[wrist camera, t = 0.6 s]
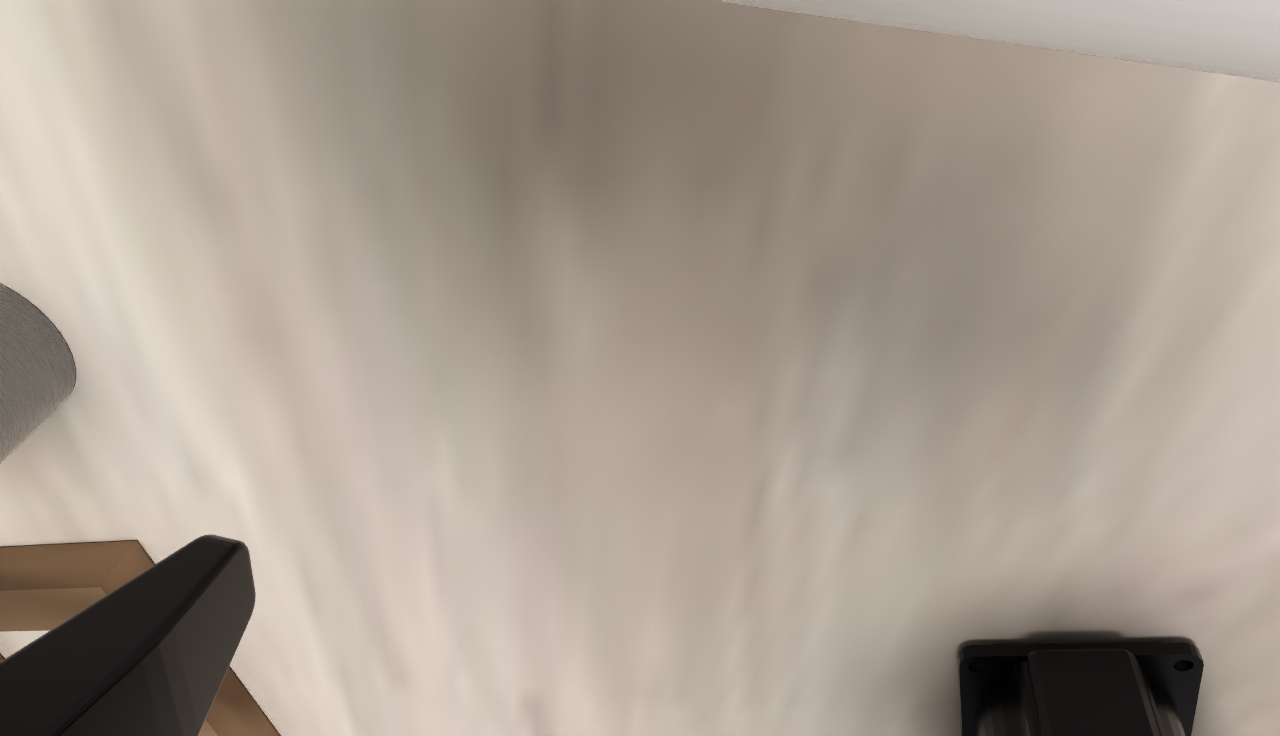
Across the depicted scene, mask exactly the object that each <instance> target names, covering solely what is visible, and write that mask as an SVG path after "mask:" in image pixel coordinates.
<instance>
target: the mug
mask: <svg viewBox="0 0 1280 736" xmlns="http://www.w3.org/2000/svg"><path fill="white" fill-rule="evenodd" d="M721 1H723V2H726V3H731V4H738V5H745V6H752V7H759V8H766V9H773V10H780V11H787V12H794V13H801V14H808V15H815V16H822V17H829V18H836V19H843V20H850V21H857V22H864V23H871V24H878V25H885V26H892V27H899V28H906V29H913V30H920V31H927V32H934V33H941V34H948V35H955V36H962V37H969V38H976V39H983V40H990V41H997V42H1004V43H1011V44H1018V45H1025V46H1032V47H1039V48H1045V49H1052V50H1059V51H1066V52H1073V53H1080V54H1087V55H1094V56H1101V57H1108V58H1115V59H1122V60H1129V61H1136V62H1143V63H1150V64H1157V65H1164V66H1171V67H1178V68H1185V69H1192V70H1199V71H1206V72H1213V73H1220V74H1227V75H1234V76H1241V77H1248V78H1255V79H1262V80H1269V81H1276V82H1280V0H721Z"/></svg>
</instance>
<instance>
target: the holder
mask: <svg viewBox="0 0 1280 736" xmlns="http://www.w3.org/2000/svg"><path fill="white" fill-rule="evenodd" d="M152 566H154V564H153V562H152V561H151V560H150V558H149V557H148V555H147V554H146V553H145V551H144V550H143V549H142V547H141V546H140V545H139V543H138V542H137V541H117V542H96V543H76V544H56V545H36V546H16V547H0V631H40V630H52V629H54V628H55V627H57V626H59V625H60V624H62V623H63V622H65V621H67V620H68V619H70V618H71V617H73V616H75V615H76V614H78V613H79V612H81V611H82V610H84V609H86V608H87V607H89V606H90V605H92V604H94V603H95V602H97V601H98V600H100V599H102V598H103V597H105V596H106V595H108V594H109V593H111V592H113V591H114V590H116V589H117V588H119V587H121V586H122V585H124V584H125V583H127V582H128V581H130V580H132V579H133V578H135V577H136V576H138V575H140V574H141V573H143V572H144V571H146V570H148V569H149V568H151V567H152ZM3 660H4V658H3V657H2V656H1V655H0V662H2V661H3ZM198 736H280V735H279V734H278V733H277V731H276V730H275V729H274V727H273V726H272V725H271V723H270V722H269V720H268V719H267V718H266V716H265V715H264V714H263V712H262V711H261V710H260V708H259V707H258V705H257V704H256V703H255V701H254V700H253V699H252V697H251V696H250V695H249V693H248V692H247V690H246V689H245V688H244V686H243V685H242V684H241V682H240V681H239V680H238V678H237V677H236V675H235V674H234V673H233V671H232V670H231V669H230V667H228V670H227V672H226V674H225V676H224V679H223V681H222V683H221V685H220V688H219V690H218V692H217V694H216V697H215V699H214V701H213V703H212V706H211V708H210V710H209V712H208V715H207V717H206V719H205V721H204V724H203V726H202V728H201V730H200V733H199V735H198Z"/></svg>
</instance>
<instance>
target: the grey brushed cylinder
mask: <svg viewBox="0 0 1280 736" xmlns="http://www.w3.org/2000/svg"><path fill="white" fill-rule="evenodd" d="M75 379H76V370H75V364H74V360H73V357H72V354H71V352H70V350H69V348H68V346H67V344H66V342H65V341H64V339H63V337H62V336H61V334H60V333H59V332H58V330H57V329H56V328H55V326H54V325H53V324H52V323H51V322H50V321H49V320H48V318H47V317H46V316H45V315H44V314H42V313H41V312H40V311H39V310H38V309H37V308H36V307H35V306H33V305H32V304H31V303H30V302H29V301H27V300H26V299H24V298H23V297H22V296H20V295H19V294H17V293H16V292H14V291H12V290H10V289H9V288H7V287H5V286H3V285H1V284H0V464H1V463H2V462H3V461H4V460H5V459H6V458H7V457H8V456H9V455H10V454H11V453H12V452H13V451H14V450H15V449H16V448H17V447H18V446H19V445H20V444H21V443H22V442H23V441H24V440H25V439H26V438H27V437H28V436H29V435H30V434H31V433H32V432H33V431H34V430H35V429H36V428H37V427H38V426H39V425H40V424H41V423H42V422H43V421H44V420H45V419H46V418H47V417H48V416H49V415H50V414H51V413H52V412H53V411H54V410H55V409H56V408H57V407H58V406H59V405H60V404H61V403H62V402H63V401H64V400H65V399H66V398H67V397H68V396H69V395H70V393H71V392H72V390H73V388H74V385H75Z"/></svg>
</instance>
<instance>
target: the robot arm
mask: <svg viewBox="0 0 1280 736" xmlns="http://www.w3.org/2000/svg"><path fill="white" fill-rule="evenodd" d="M254 604H255V587H254V581H253V574H252V568H251V562H250V555H249V551H248V547H247V546H246V545H245V544H244V543H243V542H241V541H238V540H234V539H230V538H225V537H221V536H216V535H204V536H201V537H199V538H197V539H195V540H194V541H192V542H190V543H189V544H187V545H186V546H184V547H182V548H181V549H179V550H178V551H176V552H174V553H173V554H171V555H170V556H168V557H167V558H165V559H163V560H162V561H160V562H159V563H157V564H155V565H154V566H152V567H151V568H149V569H148V570H146V571H144V572H143V573H141V574H140V575H138V576H136V577H135V578H133V579H132V580H130V581H128V582H127V583H125V584H124V585H122V586H121V587H119V588H117V589H116V590H114V591H113V592H111V593H109V594H108V595H106V596H105V597H103V598H102V599H100V600H98V601H97V602H95V603H94V604H92V605H90V606H89V607H87V608H86V609H84V610H82V611H81V612H79V613H78V614H76V615H75V616H73V617H71V618H70V619H68V620H67V621H65V622H63V623H62V624H60V625H59V626H57V627H55V628H54V629H52V630H51V631H49V632H48V633H46V634H44V635H43V636H41V637H40V638H38V639H36V640H35V641H33V642H32V643H30V644H29V645H27V646H25V647H24V648H22V649H21V650H19V651H17V652H16V653H14V654H13V655H11V656H9V657H8V658H6V659H5V660H3V661H2V662H0V736H198V735H199V733H200V730H201V728H202V726H203V724H204V721H205V719H206V717H207V715H208V712H209V710H210V708H211V706H212V703H213V701H214V699H215V697H216V694H217V692H218V690H219V688H220V685H221V683H222V681H223V679H224V676H225V674H226V672H227V670H228V667H229V665H230V663H231V660H232V658H233V656H234V654H235V651H236V649H237V647H238V645H239V642H240V640H241V638H242V636H243V633H244V631H245V629H246V627H247V624H248V622H249V620H250V618H251V615H252V612H253V609H254ZM957 658H958V678H959V699H960V719H961V736H1191V732H1192V727H1193V721H1194V716H1195V710H1196V705H1197V699H1198V694H1199V688H1200V683H1201V677H1202V672H1203V666H1204V664H1203V660H1202V657H1201V655H1200V652H1199V649H1198V648H1197V647H1196V646H1195V645H1192V644H1190V643H1182V642H1177V643H1101V644H1025V645H972V646H967V647H965V648H962V649H961V650H960V651H959V652H958V656H957Z"/></svg>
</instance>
